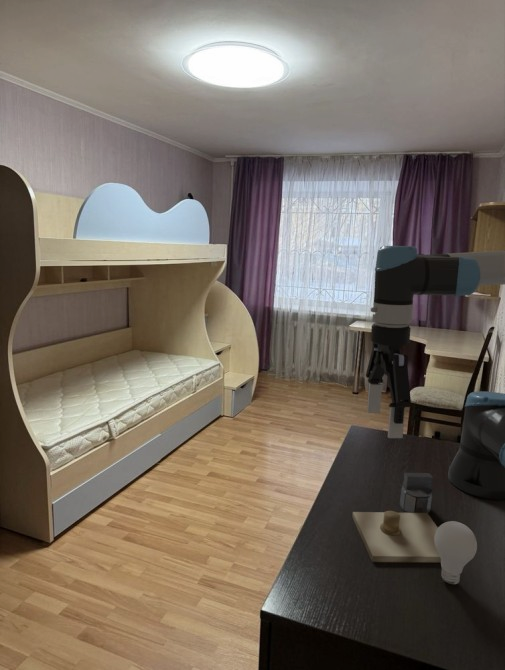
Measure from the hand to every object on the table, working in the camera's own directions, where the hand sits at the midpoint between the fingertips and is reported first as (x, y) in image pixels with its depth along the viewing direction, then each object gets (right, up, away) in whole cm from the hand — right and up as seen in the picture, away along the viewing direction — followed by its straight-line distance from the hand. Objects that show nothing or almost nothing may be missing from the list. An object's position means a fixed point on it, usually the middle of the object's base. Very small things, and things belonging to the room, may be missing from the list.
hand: (383, 424), depth 98 cm
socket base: (+2, -21, -6) cm, 22 cm away
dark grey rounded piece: (+8, -19, +5) cm, 22 cm away
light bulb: (+6, -24, -17) cm, 30 cm away
